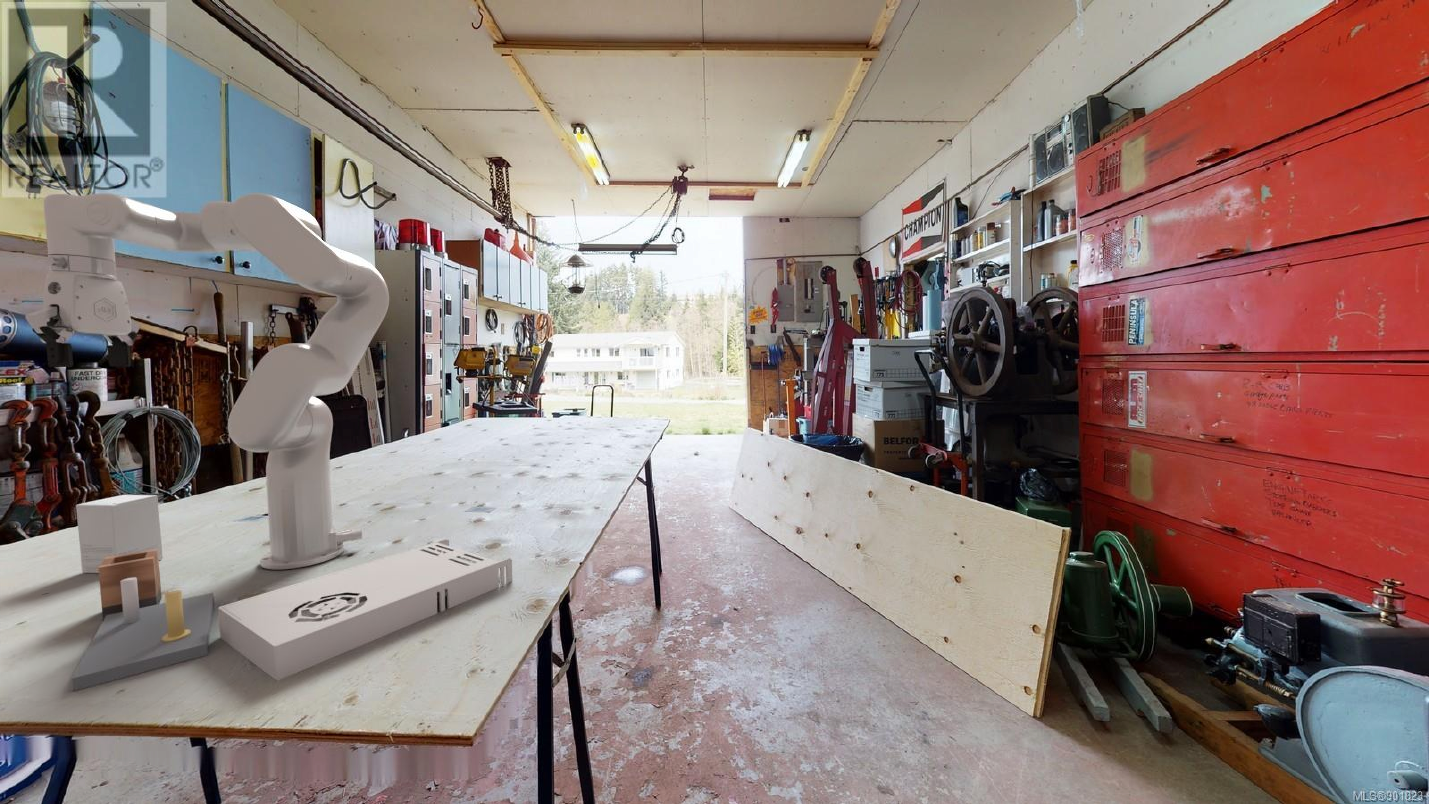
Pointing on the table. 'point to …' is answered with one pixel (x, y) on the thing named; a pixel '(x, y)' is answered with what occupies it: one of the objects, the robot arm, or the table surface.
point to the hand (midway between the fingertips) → (92, 366)
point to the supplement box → (117, 528)
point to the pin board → (146, 636)
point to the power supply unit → (354, 606)
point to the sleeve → (129, 567)
